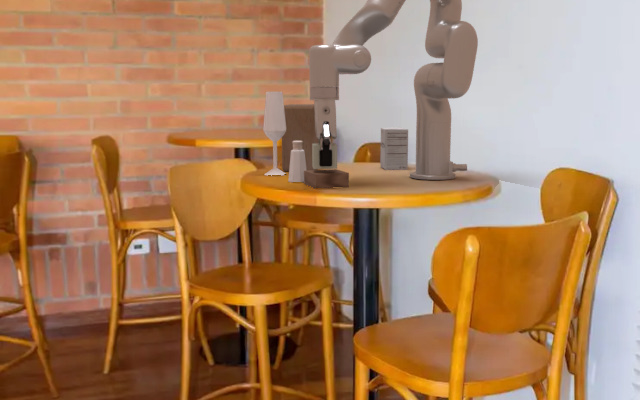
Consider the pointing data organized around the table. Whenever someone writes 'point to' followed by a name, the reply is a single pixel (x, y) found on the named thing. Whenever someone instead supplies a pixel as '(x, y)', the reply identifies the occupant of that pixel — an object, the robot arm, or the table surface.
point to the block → (299, 132)
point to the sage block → (316, 157)
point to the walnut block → (326, 178)
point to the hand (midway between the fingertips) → (324, 164)
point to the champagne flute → (274, 124)
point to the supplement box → (394, 148)
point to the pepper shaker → (297, 163)
